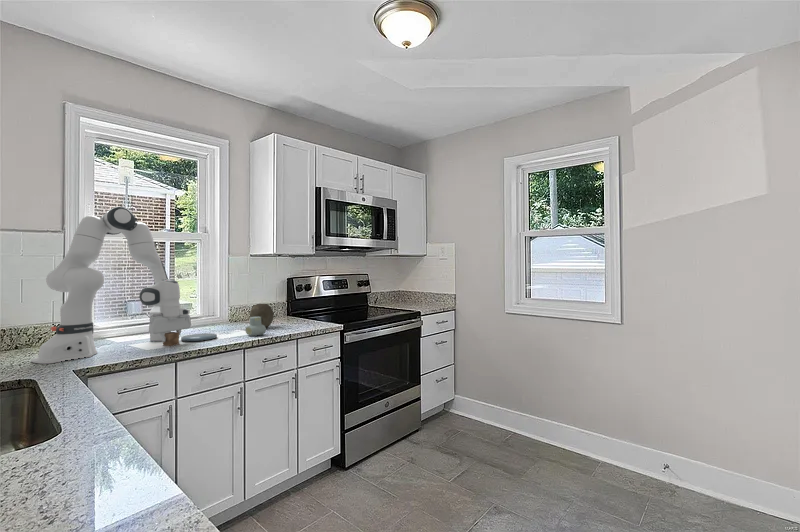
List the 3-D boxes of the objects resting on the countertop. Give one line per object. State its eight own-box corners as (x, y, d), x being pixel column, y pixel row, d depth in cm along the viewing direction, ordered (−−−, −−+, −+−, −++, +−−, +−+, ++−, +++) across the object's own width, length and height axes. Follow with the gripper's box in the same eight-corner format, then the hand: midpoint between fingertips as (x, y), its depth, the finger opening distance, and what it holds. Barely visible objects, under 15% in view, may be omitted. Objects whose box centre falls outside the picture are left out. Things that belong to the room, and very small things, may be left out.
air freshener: (268, 335, 232) (267, 317, 232) (254, 337, 226) (253, 318, 225) (257, 333, 239) (257, 315, 239) (243, 335, 233) (243, 317, 233)
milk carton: (163, 341, 219) (162, 304, 219) (150, 341, 220) (149, 304, 219) (171, 338, 227) (170, 303, 226) (158, 338, 227) (157, 303, 226)
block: (169, 346, 205) (169, 334, 205) (162, 345, 208) (162, 333, 208) (179, 344, 210) (178, 332, 210) (172, 343, 212) (172, 331, 212)
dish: (196, 343, 212) (196, 340, 212) (173, 341, 219) (173, 337, 219) (223, 337, 227) (223, 334, 227) (201, 335, 235) (201, 332, 235)
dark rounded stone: (279, 327, 260) (278, 302, 260) (262, 330, 247) (262, 305, 247) (261, 325, 266) (260, 302, 266) (244, 329, 253) (243, 304, 253)
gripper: (154, 315, 198) (154, 344, 198) (192, 310, 216) (193, 337, 216) (145, 314, 201) (146, 343, 201) (184, 309, 219) (184, 336, 219)
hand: (170, 340), depth 209 cm, fingers closed on block, 5 cm apart
